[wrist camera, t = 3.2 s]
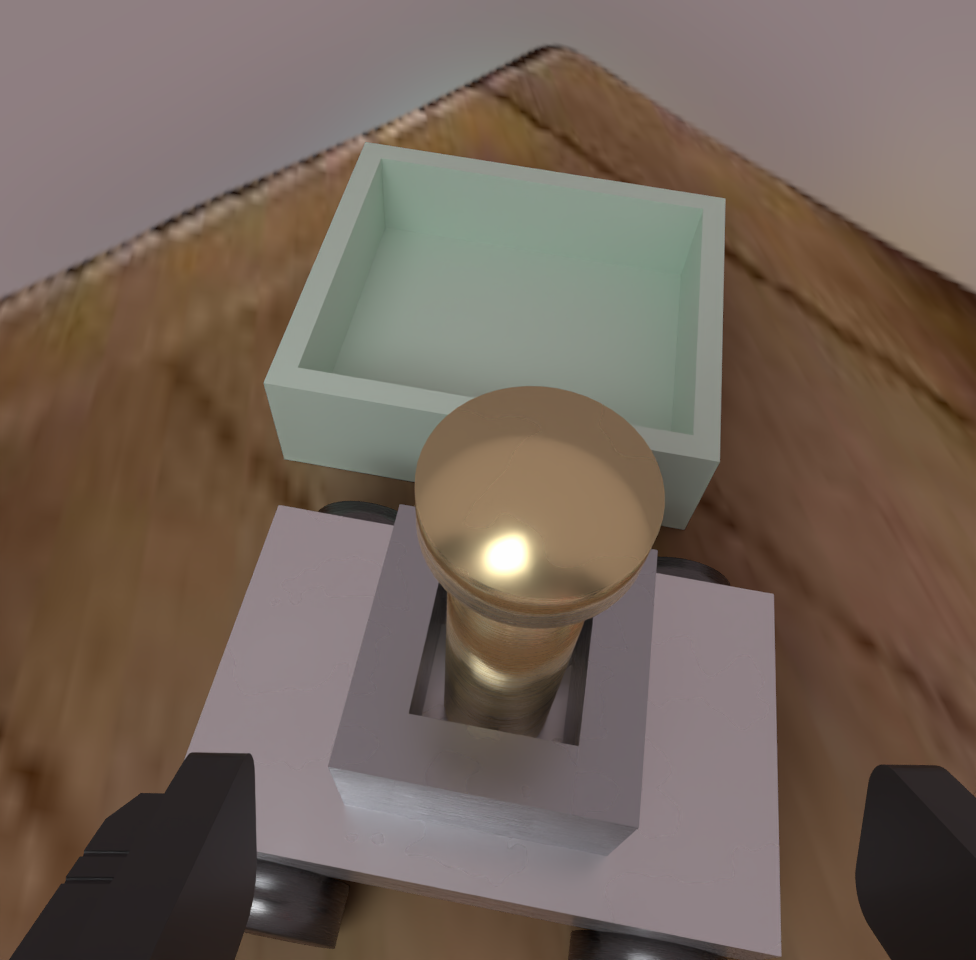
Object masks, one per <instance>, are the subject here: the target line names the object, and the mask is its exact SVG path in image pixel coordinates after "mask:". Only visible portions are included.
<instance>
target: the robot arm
mask: <svg viewBox="0 0 976 960" xmlns="http://www.w3.org/2000/svg"><path fill="white" fill-rule="evenodd" d="M256 872H257V842H256V798H255V767H254V760H253V757H252V755H251V754H250V753H208V752H192V753H190V754H188V756H187V757H186V758H185V760H184V762H183V763H182V765H181V767H180V768H179V770H178V772H177V773H176V775H175V777H174V778H173V780H172V782H171V783H170V785H169V787H168V788H167V790H166V792H165V793H164V794H159V793H140V794H139V795H138V796H136V797H135V798H134V799H132V800H131V801H130V802H128V803H127V804H126V805H124V806H123V807H121V808H120V809H119V810H117V811H116V812H115V813H113V814H112V815H111V816H109V817H108V818H106V819H105V821H104V822H103V824H102V825H101V827H100V828H99V829H98V831H97V832H96V834H95V835H94V837H93V838H92V840H91V841H90V843H89V844H88V846H87V847H86V848H85V850H84V855H83V857H79V859H78V860H77V862H76V863H75V864H74V866H73V867H72V869H71V870H70V872H69V873H68V875H67V876H66V881H65V884H61V885H60V886H59V888H58V889H57V891H56V892H55V894H54V895H53V897H52V898H51V899H50V901H49V902H48V904H47V905H46V907H45V908H44V910H43V911H42V913H41V914H40V915H39V917H38V918H37V920H36V921H35V923H34V924H33V926H32V927H31V929H30V930H29V932H28V933H27V934H26V936H25V937H24V939H23V940H22V942H21V943H20V945H19V946H18V948H17V949H16V950H15V952H14V953H13V955H12V956H11V958H10V959H9V960H235V957H236V954H237V951H238V948H239V945H240V942H241V939H242V936H243V933H244V931H245V928H246V925H247V922H248V919H249V915H250V912H251V908H252V903H253V897H254V891H255V883H256ZM855 879H856V889H857V895H858V900H859V904H860V907H861V910H862V913H863V915H864V917H865V919H866V922H867V923H868V925H869V927H870V928H871V930H872V931H873V933H874V934H875V936H876V937H877V939H878V940H879V942H880V943H881V945H882V946H883V948H884V949H885V951H886V952H887V954H888V955H889V957H890V958H891V960H976V798H975V797H974V796H973V795H972V794H971V793H970V792H969V791H968V790H967V789H966V788H965V787H964V786H963V785H962V784H961V783H960V782H959V781H958V780H956V779H955V778H954V777H953V776H952V775H951V774H950V773H949V772H948V771H947V770H946V769H944V768H942V767H940V766H936V765H879V766H877V767H876V768H875V769H874V770H873V772H872V773H871V776H870V779H869V784H868V790H867V797H866V803H865V810H864V817H863V823H862V830H861V837H860V843H859V850H858V857H857V863H856V872H855Z"/></svg>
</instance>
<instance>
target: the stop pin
mask: <svg viewBox="0 0 976 960" xmlns="http://www.w3.org/2000/svg"><path fill="white" fill-rule="evenodd" d="M664 508H665V490H664V484H663V478H662V475H661V472H660V468H659V465H658V463H657V461H656V459H655V457H654V455H653V453H652V451H651V449H650V448H649V446H648V445H647V443H646V442H645V440H644V439H643V438H642V436H641V435H640V434H639V433H638V432H637V431H636V429H635V428H634V427H633V426H631V425H630V424H629V423H628V422H627V421H626V420H625V419H624V418H623V417H621V416H620V415H618V414H617V413H616V412H614V411H613V410H612V409H610V408H608V407H606V406H605V405H603V404H601V403H600V402H597V401H595V400H593V399H591V398H589V397H586V396H584V395H581V394H578V393H575V392H572V391H567V390H563V389H558V388H552V387H543V386H520V387H510V388H505V389H500V390H495V391H492V392H489V393H486V394H483V395H480V396H478V397H476V398H474V399H471V400H469V401H467V402H466V403H464V404H462V405H461V406H459V407H457V408H456V409H455V410H453V411H452V412H451V413H450V414H448V415H447V416H446V417H445V418H444V419H443V420H442V421H441V422H440V423H439V424H438V425H437V426H436V427H435V429H434V430H433V432H432V433H431V434H430V436H429V437H428V439H427V441H426V443H425V444H424V446H423V448H422V451H421V454H420V456H419V459H418V462H417V468H416V473H415V511H416V529H417V537H418V541H419V545H420V549H421V552H422V554H423V557H424V559H425V561H426V563H427V566H428V567H429V569H430V570H431V572H432V573H433V575H434V577H435V578H436V579H437V581H438V582H439V583H440V584H441V585H442V587H443V588H444V589H445V590H446V591H447V621H446V653H445V685H444V708H445V713H446V717H447V720H448V721H449V722H455V723H460V724H465V725H470V726H476V727H481V728H486V729H491V730H496V731H502V732H507V733H512V734H517V735H523V736H528V737H533V738H536V737H537V736H538V735H539V733H540V732H541V730H542V729H543V727H544V725H545V722H546V720H547V717H548V715H549V712H550V709H551V707H552V704H553V702H554V699H555V696H556V694H557V691H558V689H559V686H560V683H561V681H562V678H563V676H564V673H565V670H566V668H567V665H568V663H569V660H570V657H571V655H572V652H573V650H574V647H575V644H576V642H577V639H578V637H579V634H580V632H581V629H582V626H583V624H584V621H585V620H587V619H590V618H592V617H594V616H596V615H598V614H600V613H601V612H603V611H605V610H607V609H608V608H609V607H611V606H612V605H613V604H615V603H616V602H617V601H618V600H619V599H620V598H621V597H622V596H623V595H624V594H625V593H626V592H627V591H628V590H629V589H630V587H631V586H632V585H633V583H634V582H635V580H636V579H637V577H638V575H639V573H640V571H641V569H642V567H643V565H644V563H645V561H646V559H647V556H648V554H649V552H650V550H651V548H652V546H653V544H654V541H655V539H656V537H657V535H658V533H659V530H660V527H661V524H662V520H663V515H664Z"/></svg>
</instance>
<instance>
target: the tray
mask: <svg viewBox="0 0 976 960" xmlns="http://www.w3.org/2000/svg"><path fill="white" fill-rule="evenodd" d="M724 242H725V198H719V197H712V196H706V195H700V194H693V193H687V192H681V191H674V190H668V189H662V188H655V187H649V186H642V185H636V184H630V183H623V182H617V181H611V180H604V179H598V178H592V177H585V176H579V175H572V174H566V173H560V172H553V171H547V170H541V169H534V168H528V167H522V166H515V165H509V164H502V163H496V162H490V161H483V160H477V159H471V158H464V157H458V156H451V155H445V154H439V153H432V152H426V151H420V150H413V149H407V148H401V147H394V146H388V145H381V144H375V143H369V142H365V144H364V147H363V149H362V151H361V154H360V156H359V159H358V161H357V163H356V166H355V168H354V170H353V173H352V175H351V177H350V180H349V182H348V185H347V187H346V189H345V192H344V194H343V196H342V199H341V201H340V203H339V206H338V208H337V211H336V213H335V215H334V218H333V220H332V222H331V225H330V227H329V229H328V232H327V234H326V237H325V239H324V241H323V244H322V246H321V248H320V251H319V253H318V255H317V258H316V260H315V263H314V265H313V267H312V270H311V272H310V274H309V277H308V279H307V281H306V284H305V286H304V289H303V291H302V293H301V296H300V298H299V300H298V303H297V305H296V307H295V310H294V312H293V315H292V317H291V319H290V322H289V324H288V326H287V329H286V331H285V333H284V336H283V338H282V341H281V343H280V345H279V348H278V350H277V352H276V355H275V357H274V359H273V362H272V364H271V367H270V369H269V371H268V374H267V376H266V378H265V381H264V387H265V390H266V394H267V398H268V401H269V405H270V409H271V412H272V416H273V420H274V423H275V427H276V431H277V434H278V438H279V442H280V445H281V449H282V453H283V456H284V459H287V460H293V461H298V462H304V463H310V464H315V465H321V466H326V467H332V468H338V469H343V470H349V471H355V472H360V473H366V474H372V475H377V476H383V477H389V478H394V479H400V480H406V481H411V482H415V473H416V468H417V462H418V459H419V456H420V454H421V451H422V448H423V446H424V444H425V443H426V441H427V439H428V437H429V436H430V434H431V433H432V432H433V430H434V429H435V427H436V426H437V425H438V424H439V423H440V422H441V421H442V420H443V419H444V418H445V417H446V416H447V415H448V414H450V413H451V412H452V411H453V410H455V409H456V408H457V407H459V406H461V405H462V404H464V403H466V402H467V401H469V400H471V399H474V398H476V397H478V396H480V395H483V394H486V393H489V392H492V391H495V390H500V389H505V388H510V387H520V386H543V387H552V388H558V389H563V390H567V391H572V392H575V393H578V394H581V395H584V396H586V397H589V398H591V399H593V400H595V401H597V402H600V403H601V404H603V405H605V406H606V407H608V408H610V409H612V410H613V411H614V412H616V413H617V414H618V415H620V416H621V417H623V418H624V419H625V420H626V421H627V422H628V423H629V424H630V425H631V426H633V427H634V428H635V429H636V431H637V432H638V433H639V434H640V435H641V436H642V438H643V439H644V440H645V442H646V443H647V445H648V446H649V448H650V449H651V451H652V453H653V455H654V457H655V459H656V461H657V463H658V465H659V468H660V472H661V475H662V478H663V484H664V490H665V508H664V515H663V520H662V524H661V526H665V527H671V528H677V529H682V530H685V528H686V526H687V524H688V522H689V520H690V518H691V516H692V514H693V512H694V511H695V509H696V507H697V505H698V503H699V501H700V499H701V497H702V495H703V493H704V491H705V489H706V488H707V486H708V484H709V482H710V480H711V478H712V476H713V474H714V472H715V470H716V468H717V466H718V464H719V463H720V431H721V384H722V337H723V290H724Z"/></svg>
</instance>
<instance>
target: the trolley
mask: <svg viewBox="0 0 976 960" xmlns="http://www.w3.org/2000/svg"><path fill="white" fill-rule="evenodd" d="M657 553H658V550H654V549H651V550H650V552H649V554H648V556H647V559H646V561H645V563H644V565H643V567H642V569H641V571H640V573H639V575H638V577H637V579H636V580H635V582H634V583H633V585H632V586H631V587H630V589H629V590H628V591H627V592H626V593H625V594H624V595H623V596H622V597H621V598H620V599H619V600H618V601H617V602H616V603H615V604H613V605H612V606H611V607H609V608H608V609H607V610H605V611H603V612H601V613H600V614H598V615H596V616H594V617H592V618H590V619H587V620H585V621H584V624H583V626H582V629H581V632H580V634H579V637H578V639H577V642H576V644H575V647H574V650H573V652H572V655H571V657H570V660H569V663H568V665H567V668H566V670H565V673H564V676H563V678H562V681H561V683H560V686H559V689H558V691H557V694H556V696H555V699H554V702H553V704H552V707H551V709H550V712H549V715H548V717H547V720H546V722H545V725H544V727H543V729H542V730H541V732H540V733H539V735H538V736H537V737H536V738H533V737H528V736H523V735H517V734H512V733H507V732H502V731H496V730H491V729H486V728H481V727H476V726H470V725H465V724H460V723H455V722H449V721H448V720H447V717H446V713H445V708H444V685H445V653H446V621H447V591H446V590H445V589H444V588H443V587H442V585H441V584H440V583H439V582H438V581H437V579H436V578H435V577H434V575H433V573H432V572H431V570H430V569H429V567H428V566H427V563H426V561H425V559H424V557H423V554H422V552H421V549H420V545H419V541H418V537H417V529H416V511H415V507H413V506H408V505H402V504H400V505H399V509H398V511H396V510H394V509H391V508H388V507H385V506H381V505H378V504H373V503H368V502H360V501H342V502H336V503H332V504H329V505H327V506H324V507H323V508H322V509H320V510H319V512H315V511H309V510H304V509H298V508H293V507H287V506H281V505H278V508H277V511H276V514H275V516H274V519H273V522H272V524H271V527H270V530H269V532H268V535H267V538H266V541H265V543H264V546H263V549H262V551H261V554H260V557H259V559H258V562H257V565H256V568H255V570H254V573H253V576H252V578H251V581H250V584H249V586H248V589H247V592H246V595H245V597H244V600H243V603H242V605H241V608H240V611H239V613H238V616H237V619H236V622H235V624H234V627H233V630H232V632H231V635H230V638H229V641H228V643H227V646H226V649H225V651H224V654H223V657H222V659H221V662H220V665H219V668H218V670H217V673H216V676H215V678H214V681H213V684H212V686H211V689H210V692H209V695H208V697H207V700H206V703H205V705H204V708H203V711H202V713H201V716H200V719H199V722H198V724H197V727H196V730H195V732H194V735H193V738H192V740H191V743H190V746H189V749H188V751H187V754H186V757H187V756H188V754H190V753H192V752H208V753H250V754H251V755H252V757H253V760H254V767H255V798H256V842H257V872H256V883H255V891H254V897H253V903H252V908H251V912H250V915H249V919H248V922H247V925H246V928H245V931H244V932H245V933H249V934H254V935H259V936H263V937H268V938H273V939H278V940H283V941H288V942H293V943H298V944H304V945H309V946H315V947H321V948H329V949H335V946H336V941H337V937H338V933H339V929H340V925H341V921H342V916H343V912H344V908H345V904H346V900H347V896H348V892H349V886H348V885H347V884H345V883H343V882H341V881H339V880H336V879H334V878H338V879H343V880H348V881H353V882H358V883H363V884H368V885H373V886H378V887H383V888H388V889H393V890H398V891H402V892H407V893H412V894H417V895H422V896H427V897H432V898H437V899H442V900H447V901H452V902H457V903H462V904H467V905H472V906H477V907H482V908H487V909H492V910H497V911H502V912H507V913H512V914H517V915H522V916H526V917H531V918H536V919H541V920H546V921H551V922H556V923H561V924H566V925H571V926H576V927H581V928H586V929H591V930H574V931H572V932H571V939H570V949H569V959H568V960H727V959H726V958H724V957H722V956H725V957H730V958H735V959H740V960H764V959H770V958H777V957H781V914H780V866H779V818H778V770H777V722H776V674H775V626H774V594H771V593H765V592H760V591H754V590H748V589H743V588H737V587H732V586H730V583H729V581H728V580H727V579H726V578H725V577H724V575H722V574H721V573H720V572H718V571H717V570H715V569H713V568H711V567H709V566H707V565H704V564H701V563H698V562H695V561H691V560H687V559H681V558H673V557H657ZM186 757H185V758H186ZM184 760H185V759H184ZM331 877H333V878H331ZM593 930H596V931H593Z"/></svg>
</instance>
